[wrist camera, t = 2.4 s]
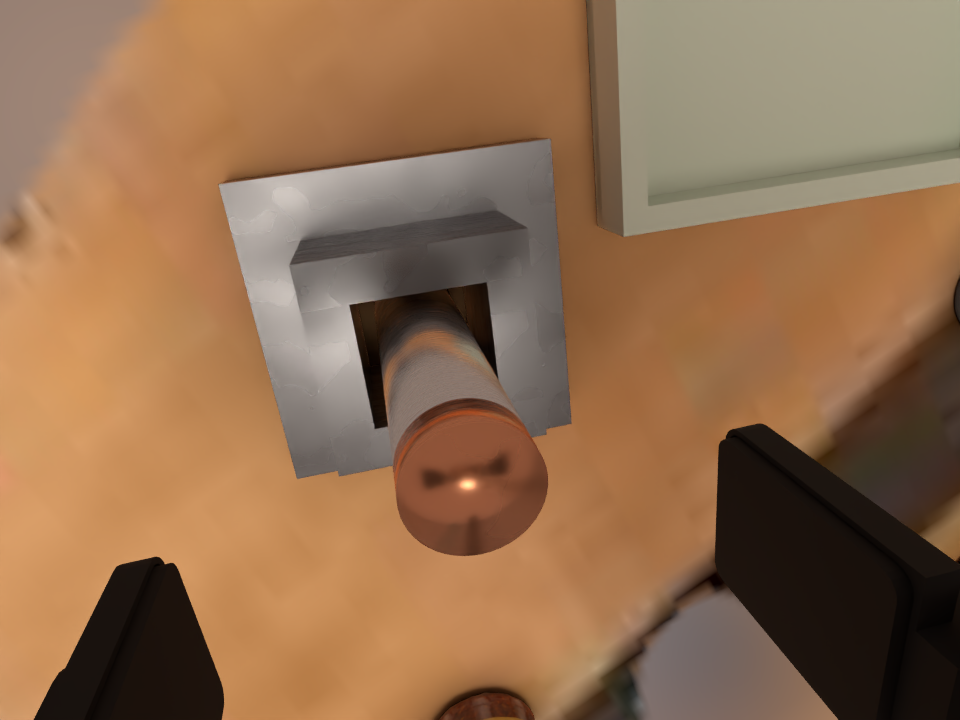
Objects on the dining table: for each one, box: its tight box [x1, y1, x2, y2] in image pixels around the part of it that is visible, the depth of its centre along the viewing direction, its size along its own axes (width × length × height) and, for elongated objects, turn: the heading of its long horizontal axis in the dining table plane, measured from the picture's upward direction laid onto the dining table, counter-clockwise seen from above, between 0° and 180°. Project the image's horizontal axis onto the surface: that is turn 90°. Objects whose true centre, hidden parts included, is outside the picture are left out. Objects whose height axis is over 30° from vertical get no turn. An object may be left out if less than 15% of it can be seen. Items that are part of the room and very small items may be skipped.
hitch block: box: [218, 138, 572, 479], centre depth 23 cm, size 12×12×6 cm
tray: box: [586, 0, 960, 237], centre depth 24 cm, size 18×14×3 cm
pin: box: [374, 289, 548, 556], centre depth 20 cm, size 3×3×14 cm
